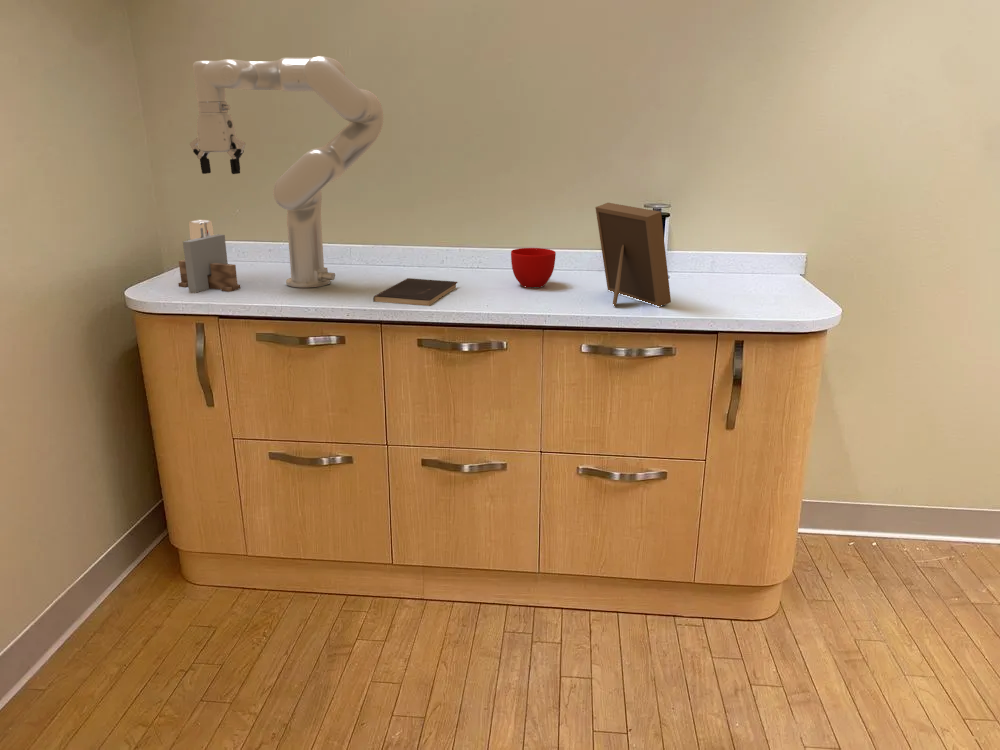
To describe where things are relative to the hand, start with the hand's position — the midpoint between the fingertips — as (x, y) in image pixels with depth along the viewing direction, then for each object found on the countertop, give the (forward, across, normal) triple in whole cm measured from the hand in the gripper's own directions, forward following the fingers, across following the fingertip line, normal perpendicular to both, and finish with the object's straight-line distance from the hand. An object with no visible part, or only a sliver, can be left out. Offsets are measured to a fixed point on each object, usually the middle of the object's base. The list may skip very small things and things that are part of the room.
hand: (221, 173), depth 215 cm
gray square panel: (+31, +2, +9) cm, 32 cm away
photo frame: (+34, -112, -14) cm, 118 cm away
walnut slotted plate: (+31, +2, +9) cm, 32 cm away
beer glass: (+31, +20, -13) cm, 39 cm away
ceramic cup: (+33, -84, -26) cm, 94 cm away
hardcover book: (+33, -57, -2) cm, 66 cm away
